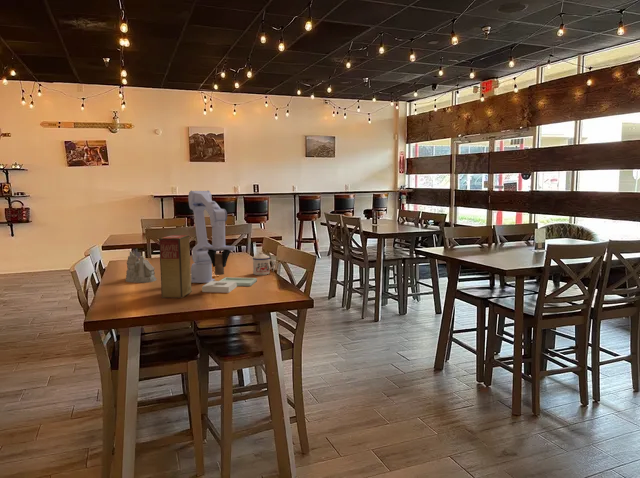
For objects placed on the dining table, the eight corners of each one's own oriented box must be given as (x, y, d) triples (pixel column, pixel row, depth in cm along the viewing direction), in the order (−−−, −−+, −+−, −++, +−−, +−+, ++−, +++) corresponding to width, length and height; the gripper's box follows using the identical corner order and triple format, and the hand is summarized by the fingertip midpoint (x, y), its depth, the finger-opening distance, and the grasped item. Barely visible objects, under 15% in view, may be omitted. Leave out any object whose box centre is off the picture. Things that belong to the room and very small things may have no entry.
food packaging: (171, 291, 208) (169, 234, 205) (192, 291, 208) (190, 234, 205) (160, 298, 195) (158, 238, 192) (182, 298, 195) (180, 238, 192)
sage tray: (217, 285, 220) (217, 282, 220) (225, 280, 232) (224, 277, 232) (250, 286, 218) (250, 283, 218) (256, 281, 230) (256, 278, 230)
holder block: (202, 291, 206) (202, 286, 206) (211, 286, 218) (211, 280, 218) (228, 292, 205) (228, 287, 205) (236, 286, 217) (236, 281, 217)
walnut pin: (213, 274, 209) (213, 254, 208) (216, 273, 213) (216, 253, 212) (222, 275, 209) (222, 254, 208) (225, 273, 213) (224, 253, 212)
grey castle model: (146, 283, 224) (145, 251, 223) (118, 282, 229) (117, 251, 228) (166, 279, 239) (166, 249, 238) (140, 278, 244) (139, 249, 243)
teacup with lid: (255, 275, 244) (254, 253, 242) (251, 272, 252) (250, 251, 251) (277, 274, 248) (277, 252, 247) (272, 271, 256) (272, 250, 255)
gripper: (199, 237, 206) (200, 267, 207) (232, 237, 204) (232, 268, 206) (205, 235, 213) (206, 265, 214) (236, 235, 211) (237, 265, 213)
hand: (219, 266), depth 211 cm, fingers closed on walnut pin, 4 cm apart
